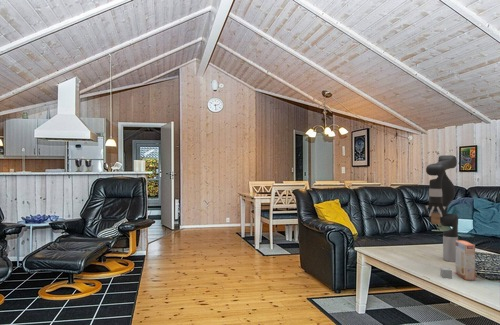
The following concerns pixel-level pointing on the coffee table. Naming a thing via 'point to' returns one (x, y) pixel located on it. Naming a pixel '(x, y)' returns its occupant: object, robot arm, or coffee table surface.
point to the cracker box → (465, 260)
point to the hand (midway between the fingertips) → (435, 222)
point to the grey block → (446, 273)
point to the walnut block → (435, 218)
